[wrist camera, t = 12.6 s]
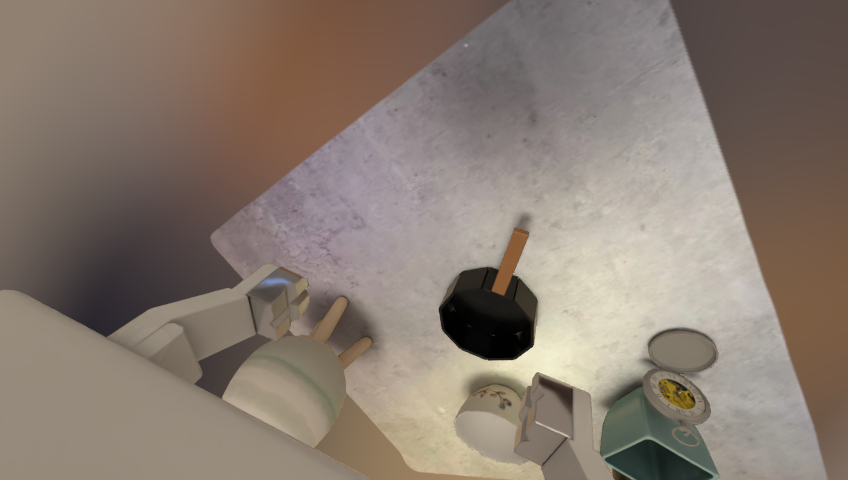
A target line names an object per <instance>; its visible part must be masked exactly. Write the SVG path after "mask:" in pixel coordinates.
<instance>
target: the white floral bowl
mask: <svg viewBox="0 0 848 480" xmlns="http://www.w3.org/2000/svg"><path fill="white" fill-rule="evenodd" d="M520 404H521V399H520V398H519V396H518V394H517V393H516V392H515V391H513V390H512V389H510V388H508V387H506V386H503V385H497V384H492V385H489V386H487V387H485V388H482V389H480V390H478V391H476V392H475V393H473V394H472V395H471V396H470V397H469V398H468V399H467V400H466V401H465V403H464V404H463V405H462V407H461V409H460V410H459V412H458V414H457V416H456V418H455V421H454V428H455V431H456V433H457V436H458V437H459V438H460V439H461V441H462V442H464V443H465V444H466V445H467V446H468V447H470V448H471V449H472V450H476V451H478V452H479V453H480V454H481V455H483V456H484V457H486V458H488V459H491V460H493V461H496V462H503V463H507V464H519V465H521V464H525V463H526V462H527V463H529V462H530V460H528V459H526V458H524V457H522V456H520V455H518V454H516V453H514V452H513V451H514V443H515V436H516V430H517V428H518V427H519V425H520V424H521V421H520V419H519V416H518V415H519V409H520Z"/></svg>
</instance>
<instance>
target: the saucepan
mask: <svg viewBox="0 0 848 480" xmlns="http://www.w3.org/2000/svg"><path fill="white" fill-rule="evenodd" d="M528 236H529V232H527V231H524V230H521V229H518V228H514V231H513V234H512V236H511V239H510V242H509V244H508V247H507V250H506V252H505V255H504V258H503V261H502V263H501V266H500V269H499V271H498V270H495V269H492V268H482V269H476V270H471V271H465V272H462V273H461V274H460V275H459V276H458V277H457V278H456V280H455V281H454V282H453V283H452V285H451V286H450V287H449V288H448V290H447V292H446V294H445V297H444V299H443V301H442V303H441V305H440V307H439V314H440V321H441V327H442V330H443V332H444V333H445V334H446V335H447V336H448V337H449V338H450V339H451V340H452V341H453V342H454V343H455V344H456V345H457V346H458V348H459V349H460V348H461V350H463V351H465V352H468V353H470V354H473V355H475V356H477V357H480V358H482V359H485V360H514V359H517V358H518V357H519V356H521V355H522V354H524V353H525V352H526V351H528V350H529V349H530V348H532V347H533V345H534V339H535V332H536V324H537V299H536V297H535V296H534V295H533V294H532V293H531V292H530V290H529V289H528V288H527V287H526V286H525V285H524V283H523V282H522V281H521V280H520V279H518V277H515V276H512V275H513V273H514V270H515V268H516V266H517V263H518V261H519V258H520V256H521V253H522V251H523V248H524V246H525V244H526V241H527V239H528ZM453 307H454V309H455V310H454V309H453ZM455 311H456V312H457V313H456V312H455ZM530 323H531V324H530ZM467 324H468V325H469V326H468V325H467ZM529 324H530V325H529ZM470 326H471V327H470ZM519 332H520V333H519ZM516 333H519V334H516ZM513 334H514V335H513ZM492 335H495V336H492Z"/></svg>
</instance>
